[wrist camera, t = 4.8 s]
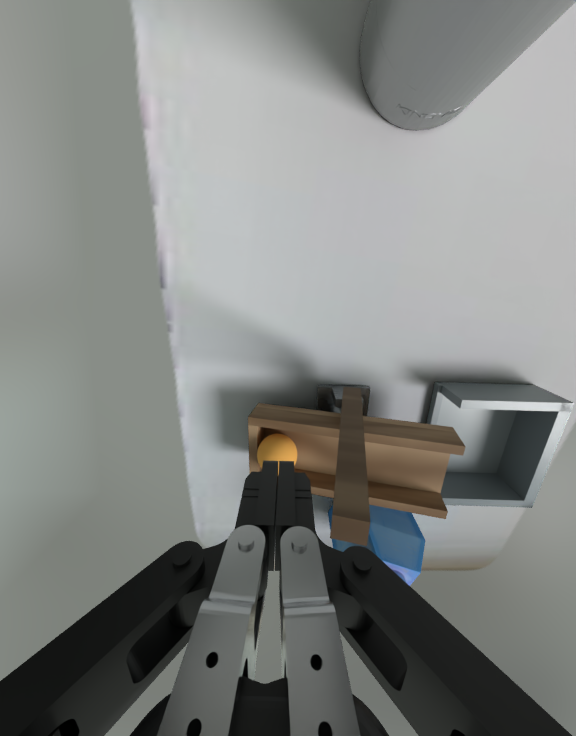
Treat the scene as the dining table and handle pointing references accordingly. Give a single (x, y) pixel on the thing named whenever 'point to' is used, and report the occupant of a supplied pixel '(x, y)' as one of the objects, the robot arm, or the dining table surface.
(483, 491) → the tray
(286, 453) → the ball
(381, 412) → the dining table surface
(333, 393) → the fulcrum
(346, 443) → the lever
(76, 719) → the robot arm
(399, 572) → the perfume bottle
